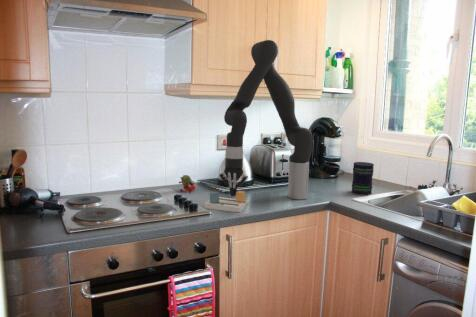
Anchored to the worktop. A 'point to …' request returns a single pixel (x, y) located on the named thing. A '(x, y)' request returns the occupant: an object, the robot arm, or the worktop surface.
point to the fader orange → (240, 196)
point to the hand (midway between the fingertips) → (233, 195)
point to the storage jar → (362, 178)
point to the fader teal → (214, 197)
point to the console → (227, 205)
